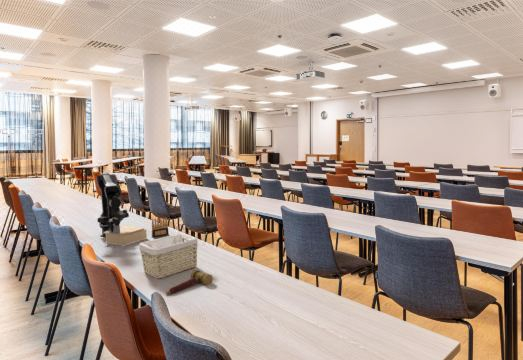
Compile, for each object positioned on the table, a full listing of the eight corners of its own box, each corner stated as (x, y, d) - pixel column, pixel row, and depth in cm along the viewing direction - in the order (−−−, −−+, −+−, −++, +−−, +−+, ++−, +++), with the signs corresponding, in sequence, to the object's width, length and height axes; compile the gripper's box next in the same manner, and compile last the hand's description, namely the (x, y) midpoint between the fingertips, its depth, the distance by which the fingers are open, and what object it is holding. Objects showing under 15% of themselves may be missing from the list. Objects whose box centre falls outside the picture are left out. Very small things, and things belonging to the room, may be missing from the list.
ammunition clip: (152, 237, 242) (151, 219, 240) (151, 237, 243) (150, 219, 242) (168, 235, 247) (167, 217, 246) (167, 234, 249) (166, 216, 248)
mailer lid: (103, 233, 231) (102, 224, 230) (126, 226, 246) (126, 218, 246) (121, 236, 223) (120, 227, 222) (144, 229, 238) (143, 221, 238)
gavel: (172, 291, 149) (158, 285, 155) (173, 302, 149) (159, 296, 156) (212, 273, 164) (198, 268, 171) (213, 283, 165) (199, 277, 171)
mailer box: (106, 242, 233) (105, 233, 232) (129, 235, 248) (128, 226, 248) (123, 245, 225) (123, 236, 224) (146, 238, 240) (146, 229, 240)
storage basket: (156, 281, 168) (154, 249, 167) (139, 272, 180) (137, 242, 178) (200, 267, 185) (199, 238, 183) (182, 260, 196) (180, 232, 195)
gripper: (108, 209, 214) (110, 236, 216) (134, 204, 231) (135, 229, 232) (95, 208, 220) (97, 234, 222) (121, 203, 236) (123, 227, 238)
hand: (114, 231), depth 228 cm, fingers closed on mailer lid, 3 cm apart
